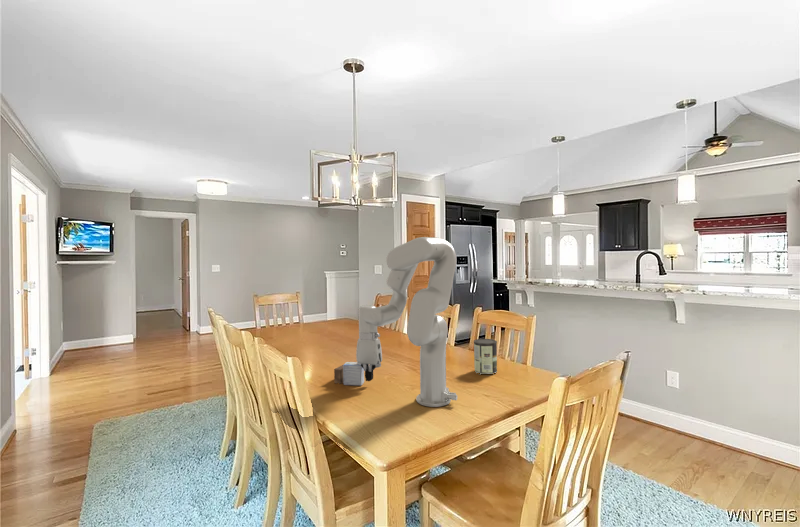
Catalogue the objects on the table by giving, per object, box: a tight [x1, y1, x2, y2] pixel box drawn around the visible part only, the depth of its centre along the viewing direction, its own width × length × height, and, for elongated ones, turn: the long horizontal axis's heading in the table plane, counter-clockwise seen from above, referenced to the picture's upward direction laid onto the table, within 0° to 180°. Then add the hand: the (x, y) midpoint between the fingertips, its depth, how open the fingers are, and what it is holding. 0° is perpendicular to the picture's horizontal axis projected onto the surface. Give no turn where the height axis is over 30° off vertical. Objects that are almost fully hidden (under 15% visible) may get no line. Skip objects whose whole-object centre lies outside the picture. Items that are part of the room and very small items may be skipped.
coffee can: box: [473, 338, 498, 375], centre depth 178 cm, size 10×10×14 cm
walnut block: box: [333, 364, 344, 385], centre depth 171 cm, size 3×12×6 cm, turn 155°
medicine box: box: [342, 361, 365, 386], centre depth 165 cm, size 8×4×9 cm, turn 80°
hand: (369, 380), depth 161 cm, fingers closed
